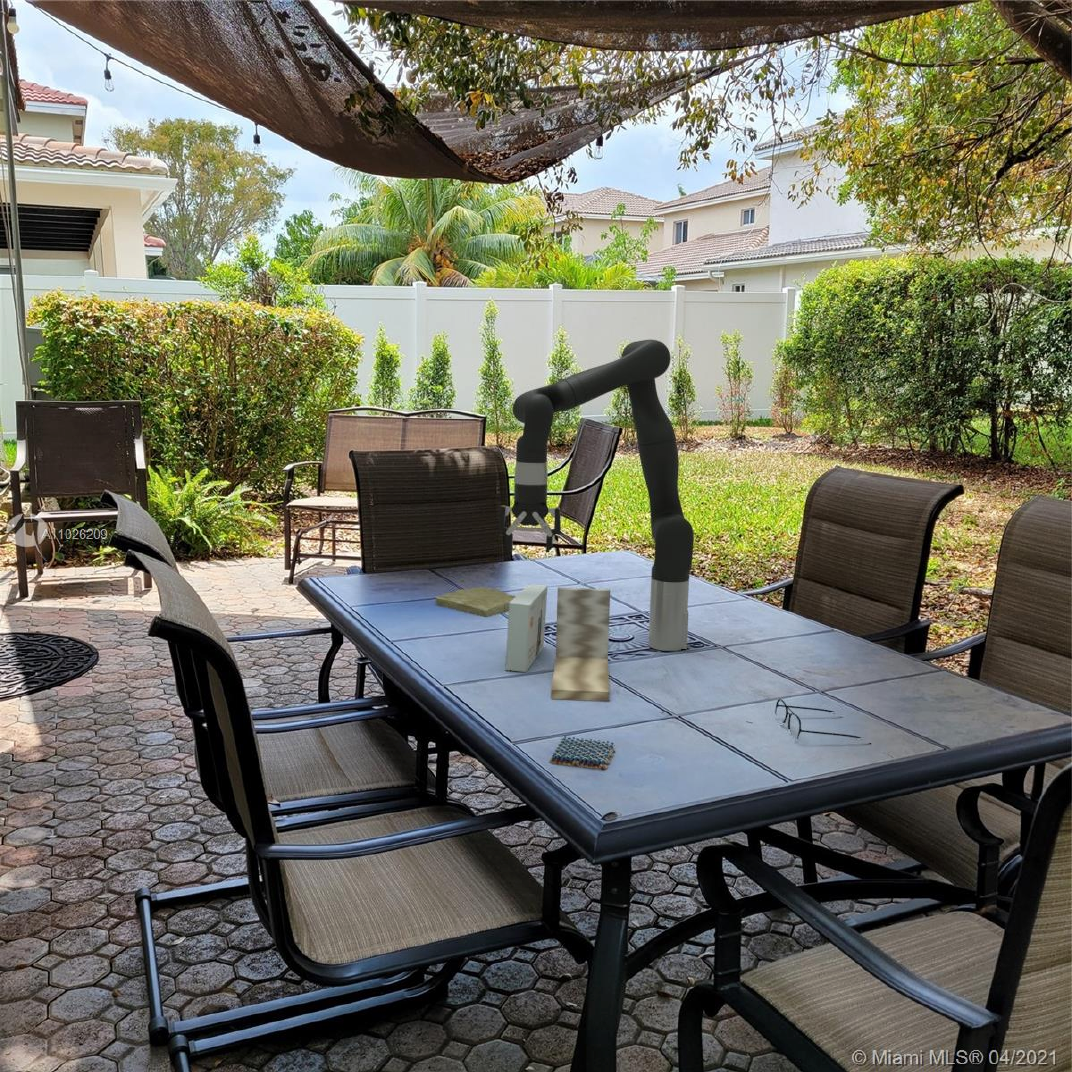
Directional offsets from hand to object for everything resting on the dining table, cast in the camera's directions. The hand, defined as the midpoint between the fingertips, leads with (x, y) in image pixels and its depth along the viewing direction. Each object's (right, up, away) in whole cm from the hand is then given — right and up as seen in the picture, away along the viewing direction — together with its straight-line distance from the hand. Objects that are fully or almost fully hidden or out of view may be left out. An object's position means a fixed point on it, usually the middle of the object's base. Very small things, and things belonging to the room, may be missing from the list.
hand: (529, 551), depth 228 cm
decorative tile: (-14, -17, +55) cm, 59 cm away
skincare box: (-1, -26, +4) cm, 26 cm away
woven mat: (+10, -36, -52) cm, 64 cm away
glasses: (+57, -35, -37) cm, 76 cm away
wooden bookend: (+11, -28, -11) cm, 33 cm away
